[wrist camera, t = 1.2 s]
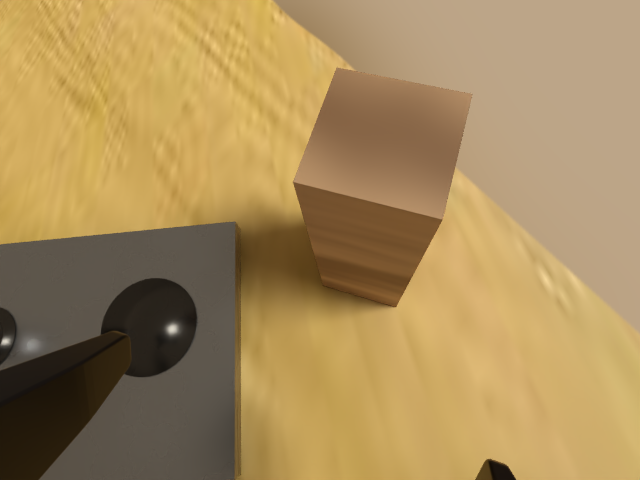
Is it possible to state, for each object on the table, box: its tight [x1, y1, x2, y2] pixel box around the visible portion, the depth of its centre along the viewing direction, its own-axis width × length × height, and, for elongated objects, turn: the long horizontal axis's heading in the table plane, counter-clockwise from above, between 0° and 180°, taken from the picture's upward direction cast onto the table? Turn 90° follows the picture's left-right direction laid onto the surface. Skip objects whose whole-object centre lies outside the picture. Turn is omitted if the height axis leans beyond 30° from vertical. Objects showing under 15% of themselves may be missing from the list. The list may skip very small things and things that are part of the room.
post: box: [293, 68, 472, 307], centre depth 18 cm, size 4×4×13 cm
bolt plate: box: [0, 222, 241, 480], centre depth 21 cm, size 14×18×5 cm
